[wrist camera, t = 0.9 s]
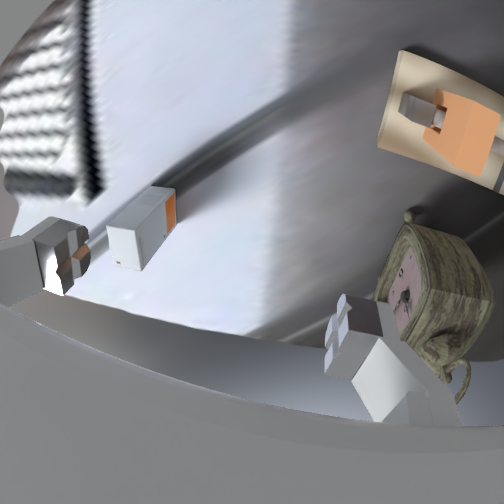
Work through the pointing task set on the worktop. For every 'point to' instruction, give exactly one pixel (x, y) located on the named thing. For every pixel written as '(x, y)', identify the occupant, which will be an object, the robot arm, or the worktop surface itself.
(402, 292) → the tabletop clock
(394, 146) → the rod stand
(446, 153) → the orange rectangular block
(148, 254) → the skincare box
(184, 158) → the worktop surface
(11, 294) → the robot arm
